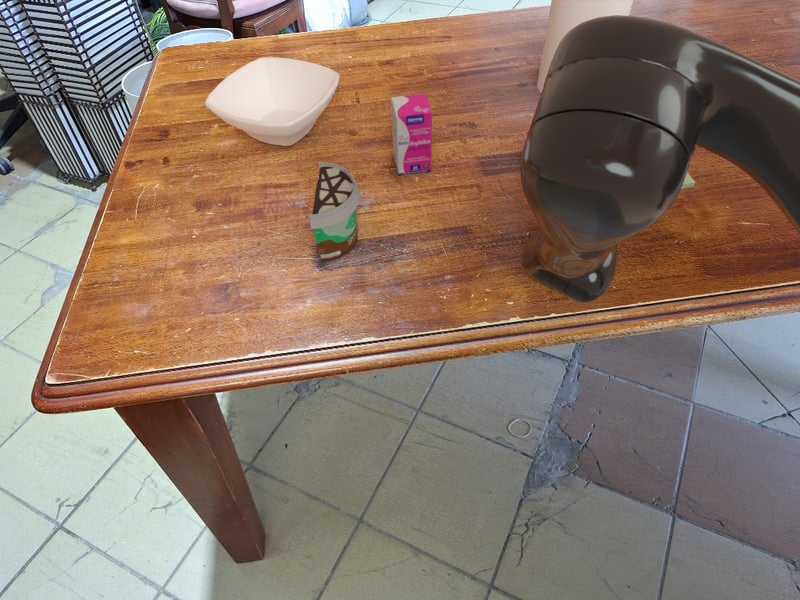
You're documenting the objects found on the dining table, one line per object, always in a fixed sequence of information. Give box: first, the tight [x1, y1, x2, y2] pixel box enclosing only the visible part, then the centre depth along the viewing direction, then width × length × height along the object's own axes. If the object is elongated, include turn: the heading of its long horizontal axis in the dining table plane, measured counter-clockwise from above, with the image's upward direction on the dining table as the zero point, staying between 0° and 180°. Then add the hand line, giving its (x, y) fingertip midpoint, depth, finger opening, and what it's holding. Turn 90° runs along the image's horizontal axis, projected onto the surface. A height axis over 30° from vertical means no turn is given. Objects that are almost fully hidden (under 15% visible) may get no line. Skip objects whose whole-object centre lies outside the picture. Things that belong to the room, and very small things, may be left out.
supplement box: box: [390, 93, 433, 176], centre depth 86 cm, size 6×6×12 cm
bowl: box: [204, 56, 340, 147], centre depth 95 cm, size 21×21×9 cm
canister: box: [536, 0, 634, 94], centre depth 96 cm, size 14×14×20 cm
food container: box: [308, 161, 361, 263], centre depth 76 cm, size 12×6×10 cm, turn 179°
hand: (650, 124), depth 78 cm, fingers open, 8 cm apart
